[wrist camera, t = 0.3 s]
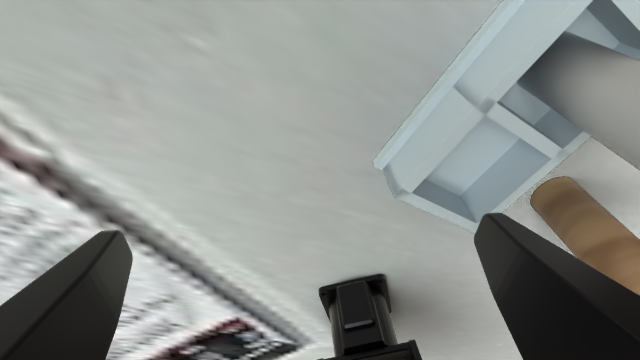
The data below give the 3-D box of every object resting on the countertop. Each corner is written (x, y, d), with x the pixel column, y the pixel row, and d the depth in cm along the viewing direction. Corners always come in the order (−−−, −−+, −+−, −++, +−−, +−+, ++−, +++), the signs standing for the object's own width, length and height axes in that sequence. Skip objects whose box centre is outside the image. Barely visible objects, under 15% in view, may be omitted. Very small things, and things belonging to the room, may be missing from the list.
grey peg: (569, 82, 21) (768, 195, 13) (511, 96, 22) (668, 217, 13) (583, 22, 19) (835, 109, 11) (518, 39, 19) (713, 138, 11)
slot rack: (459, 203, 28) (480, 237, 25) (372, 161, 25) (385, 194, 22) (635, 37, 21) (695, 57, 18) (548, -56, 17) (604, -50, 14)
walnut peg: (569, 204, 30) (725, 358, 19) (527, 214, 30) (659, 371, 19) (579, 172, 27) (761, 326, 17) (533, 182, 28) (686, 341, 17)
